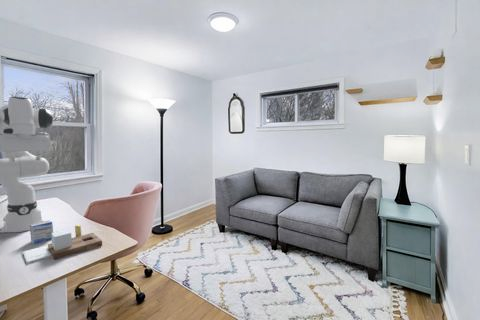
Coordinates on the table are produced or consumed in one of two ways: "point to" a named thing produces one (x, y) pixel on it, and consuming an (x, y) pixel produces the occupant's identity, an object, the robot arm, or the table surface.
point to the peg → (78, 230)
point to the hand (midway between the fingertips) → (25, 161)
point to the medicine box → (41, 231)
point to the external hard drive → (36, 254)
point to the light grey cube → (61, 239)
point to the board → (77, 245)
